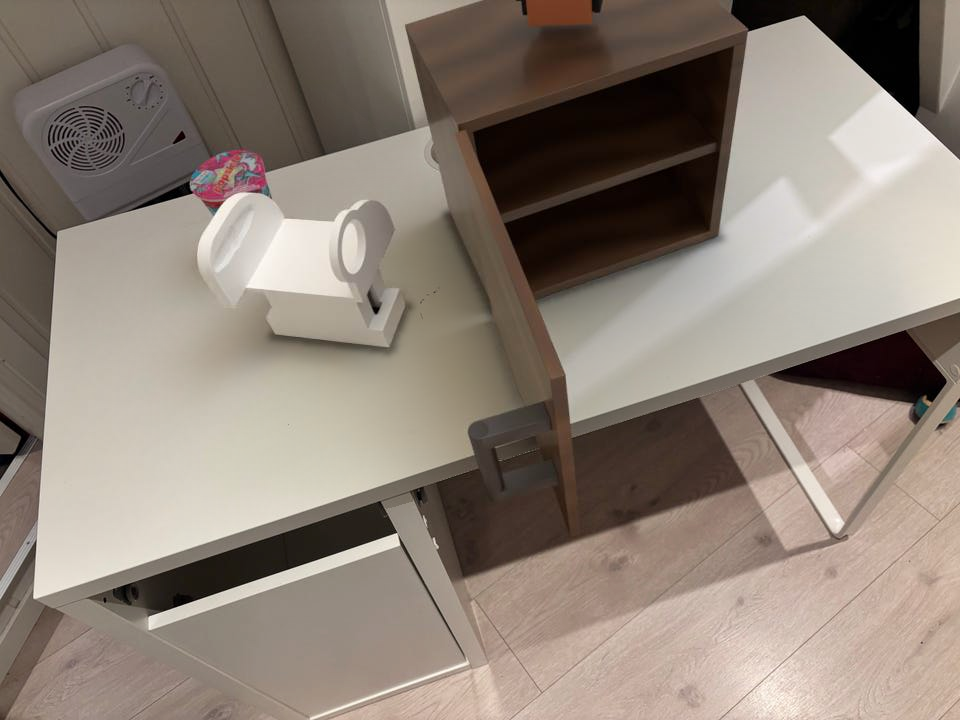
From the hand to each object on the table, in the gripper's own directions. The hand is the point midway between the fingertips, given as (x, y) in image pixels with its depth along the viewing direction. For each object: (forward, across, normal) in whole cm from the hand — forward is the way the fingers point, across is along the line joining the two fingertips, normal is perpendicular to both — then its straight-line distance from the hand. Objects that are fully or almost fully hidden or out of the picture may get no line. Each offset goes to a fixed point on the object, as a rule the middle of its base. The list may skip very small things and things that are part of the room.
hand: (563, 4), depth 66 cm
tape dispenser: (+27, -24, -18) cm, 40 cm away
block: (0, 0, 0) cm, 1 cm away
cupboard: (+26, 0, 0) cm, 26 cm away
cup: (+27, -38, -7) cm, 46 cm away
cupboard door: (+26, -3, -28) cm, 39 cm away
